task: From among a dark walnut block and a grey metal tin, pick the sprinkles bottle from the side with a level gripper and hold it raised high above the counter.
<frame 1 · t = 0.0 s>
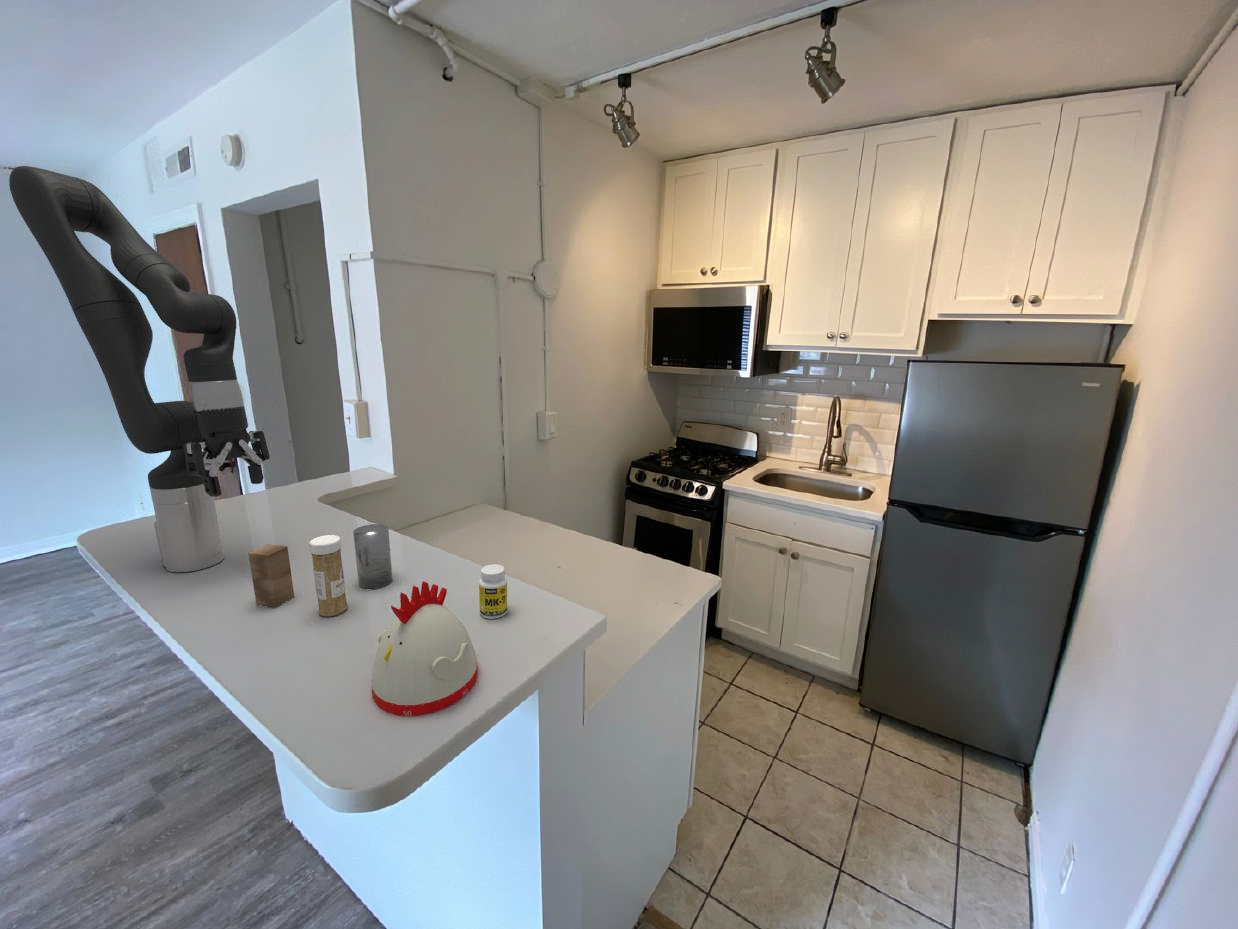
hand: (237, 489, 96), 17 cm above the table, tool pointing down, fingers open, 8 cm apart
walnut block: (275, 601, 89), on the table
supplement bottle: (493, 613, 88), on the table
grey metal tin: (375, 582, 97), on the table
sprinkles bottle: (333, 611, 87), on the table
kitchen timer: (426, 681, 70), on the table
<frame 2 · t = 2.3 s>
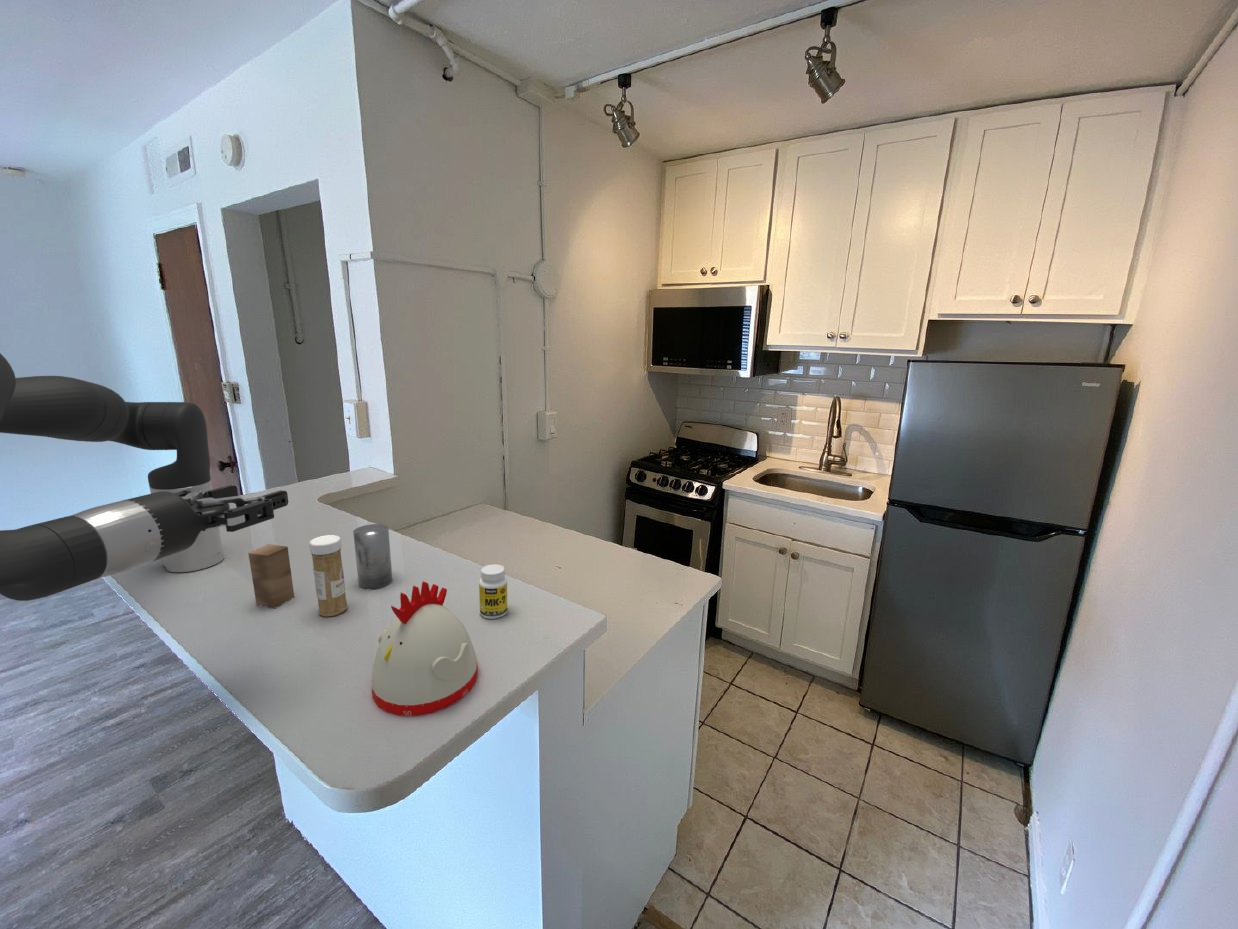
hand: (260, 494, 71), 25 cm above the table, tool horizontal, fingers open, 8 cm apart
nothing on the table moved.
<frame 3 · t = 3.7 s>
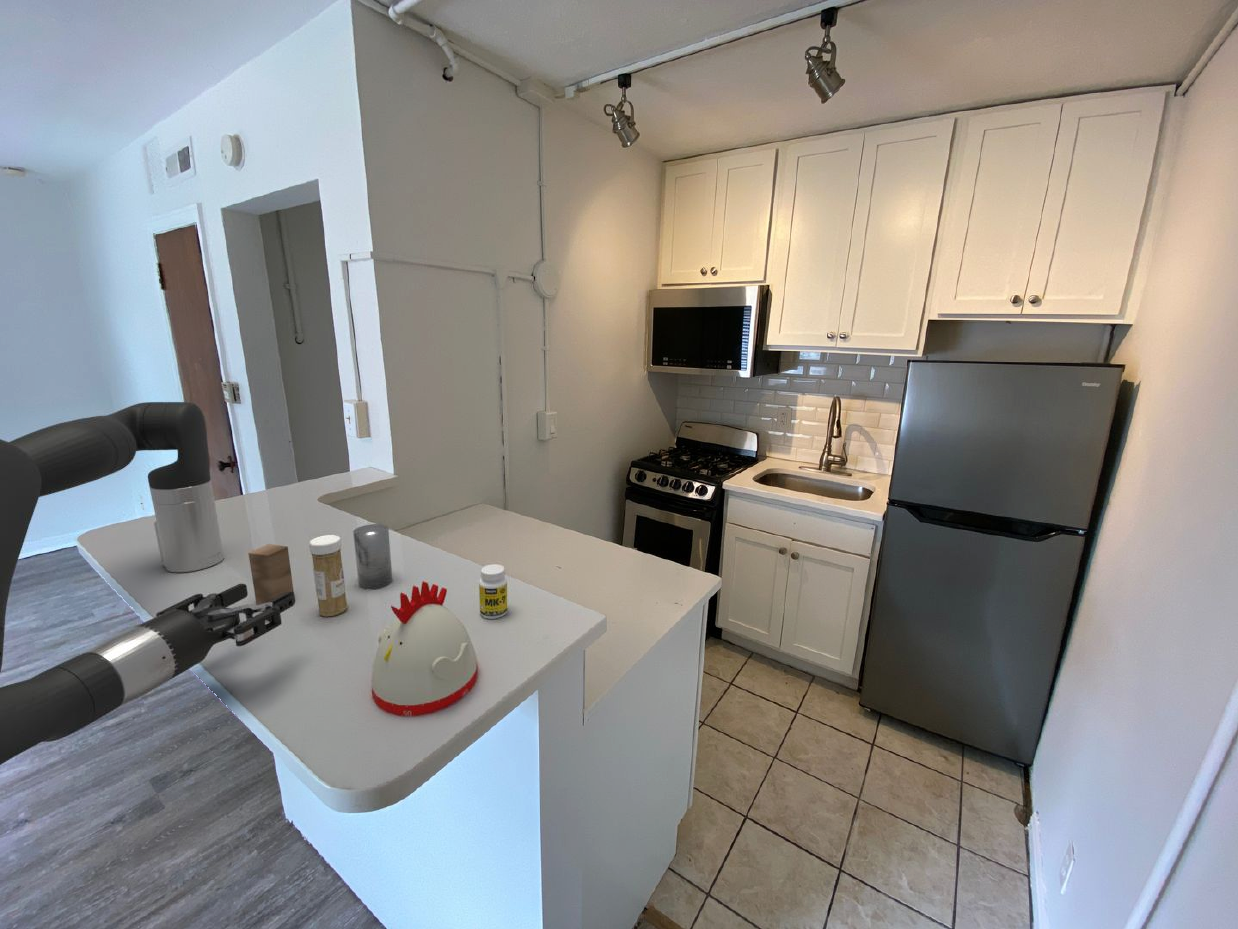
hand: (268, 593, 74), 9 cm above the table, tool horizontal, fingers open, 8 cm apart
nothing on the table moved.
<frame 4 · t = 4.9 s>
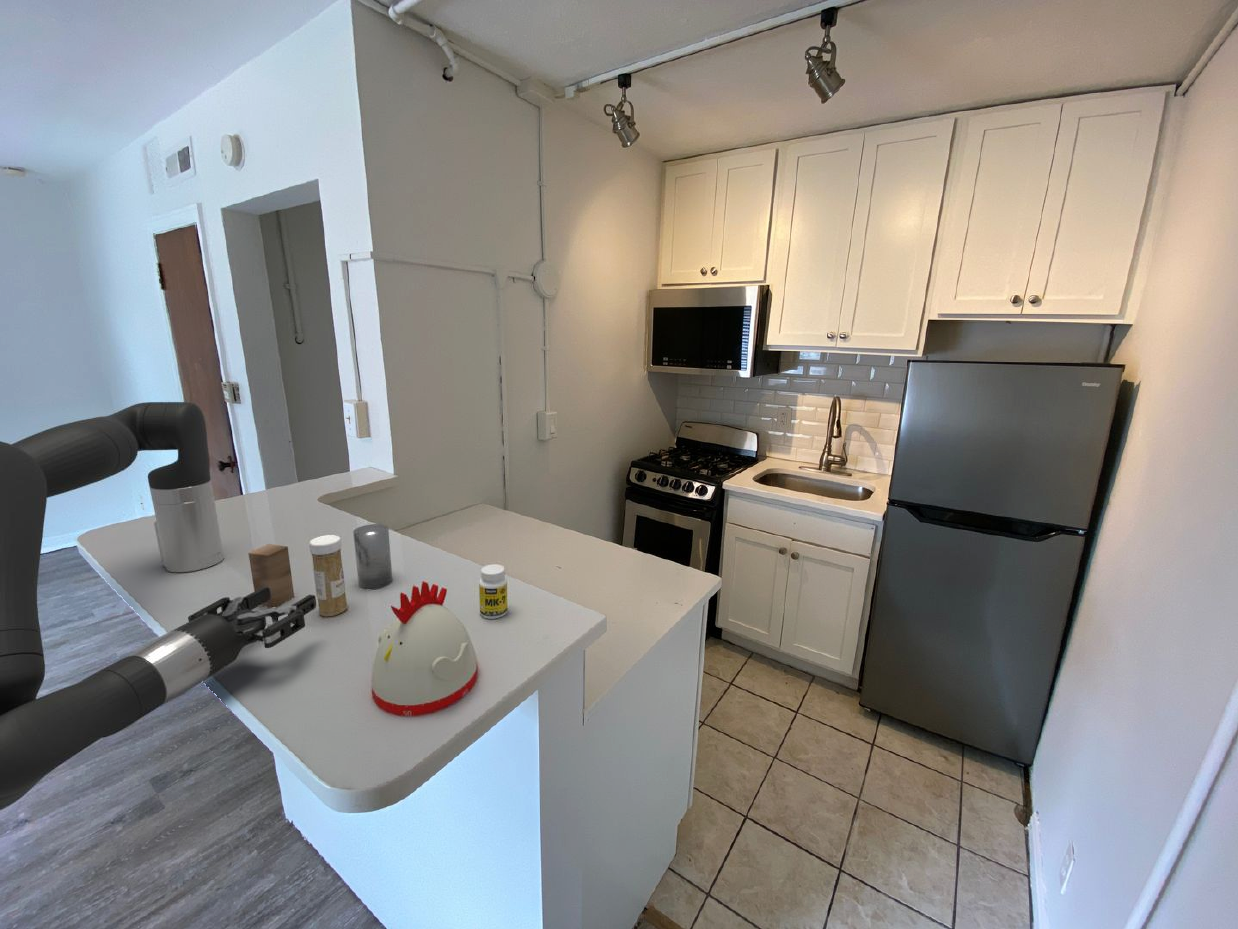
hand: (290, 596, 78), 7 cm above the table, tool horizontal, fingers open, 8 cm apart
nothing on the table moved.
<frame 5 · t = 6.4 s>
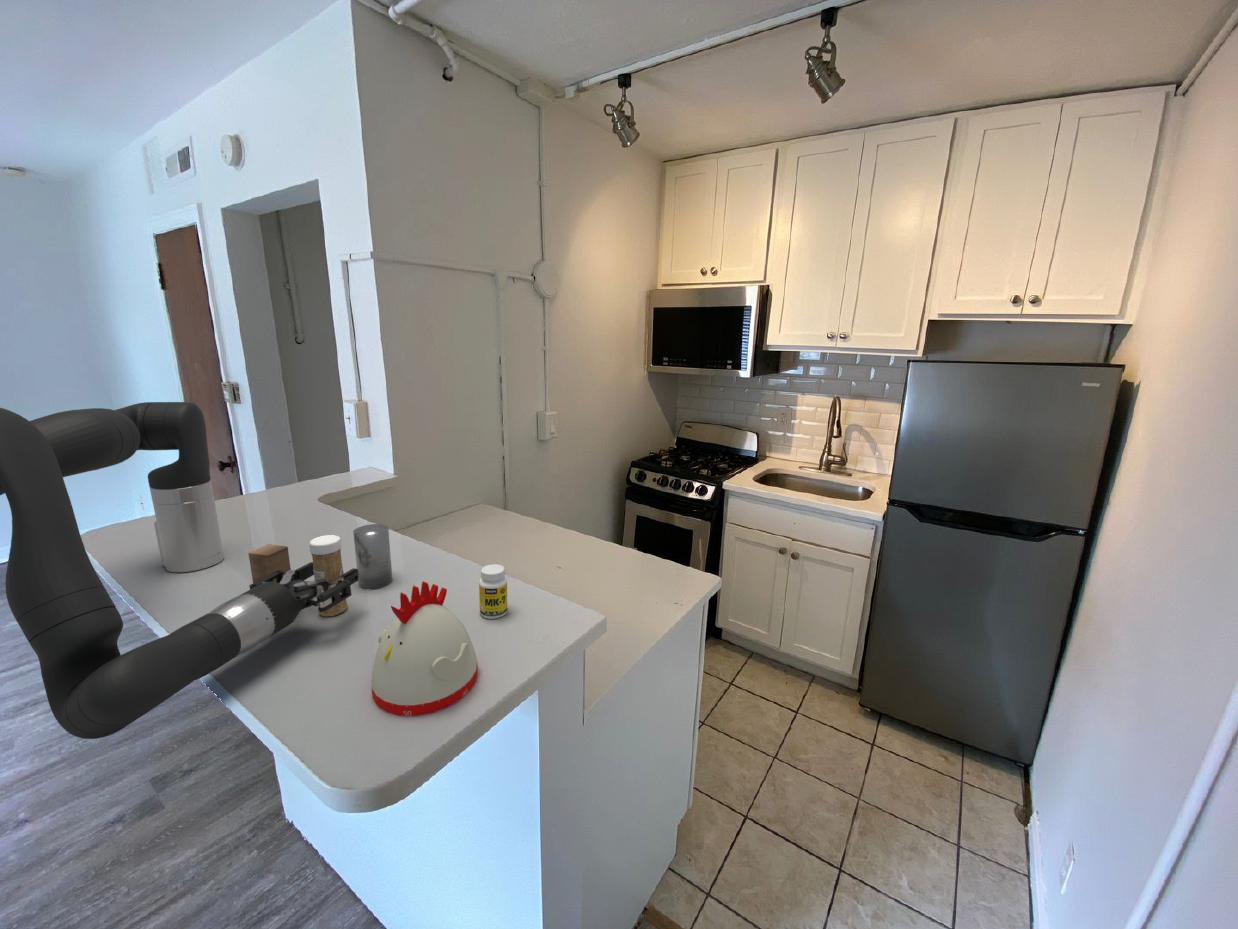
hand: (335, 570, 87), 7 cm above the table, tool horizontal, fingers open, 8 cm apart
nothing on the table moved.
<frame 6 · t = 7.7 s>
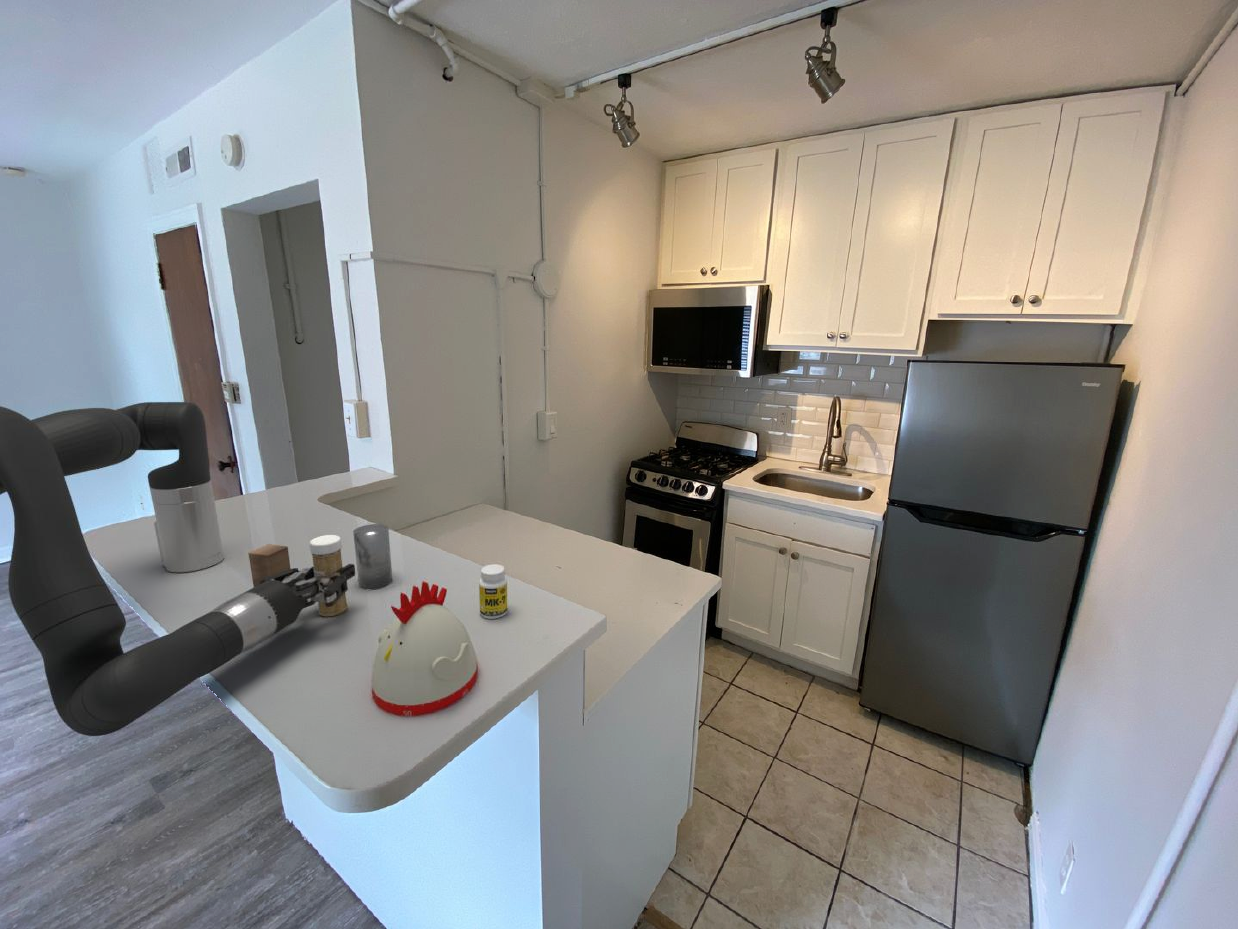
hand: (340, 567, 88), 7 cm above the table, tool horizontal, fingers closed on sprinkles bottle, 4 cm apart
sprinkles bottle: (333, 611, 87), on the table, touching gripper
everything else where it was.
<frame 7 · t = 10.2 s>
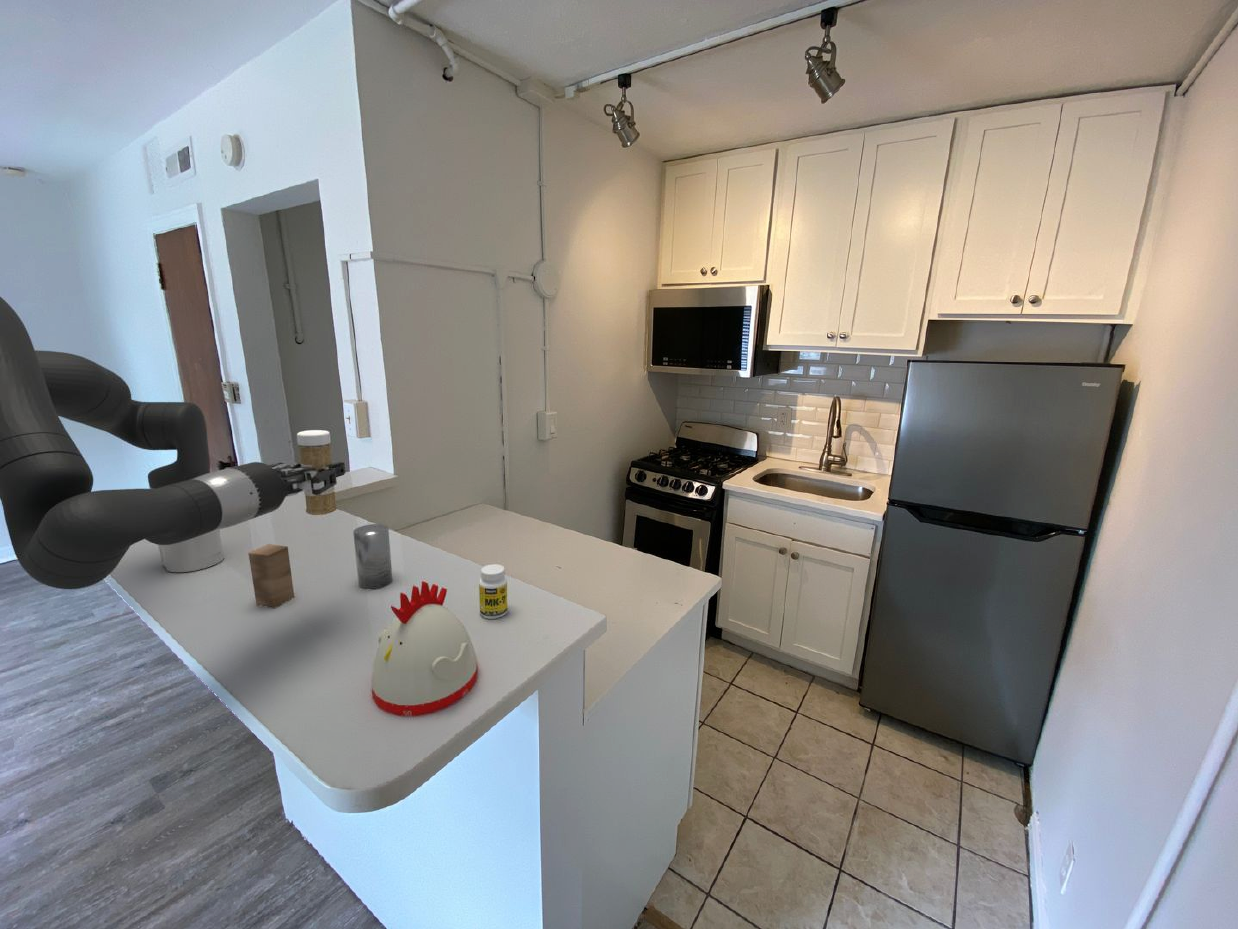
hand: (329, 466, 83), 25 cm above the table, tool horizontal, fingers closed on sprinkles bottle, 4 cm apart
sprinkles bottle: (321, 512, 83), point 18 cm above the table, touching gripper
everything else where it was.
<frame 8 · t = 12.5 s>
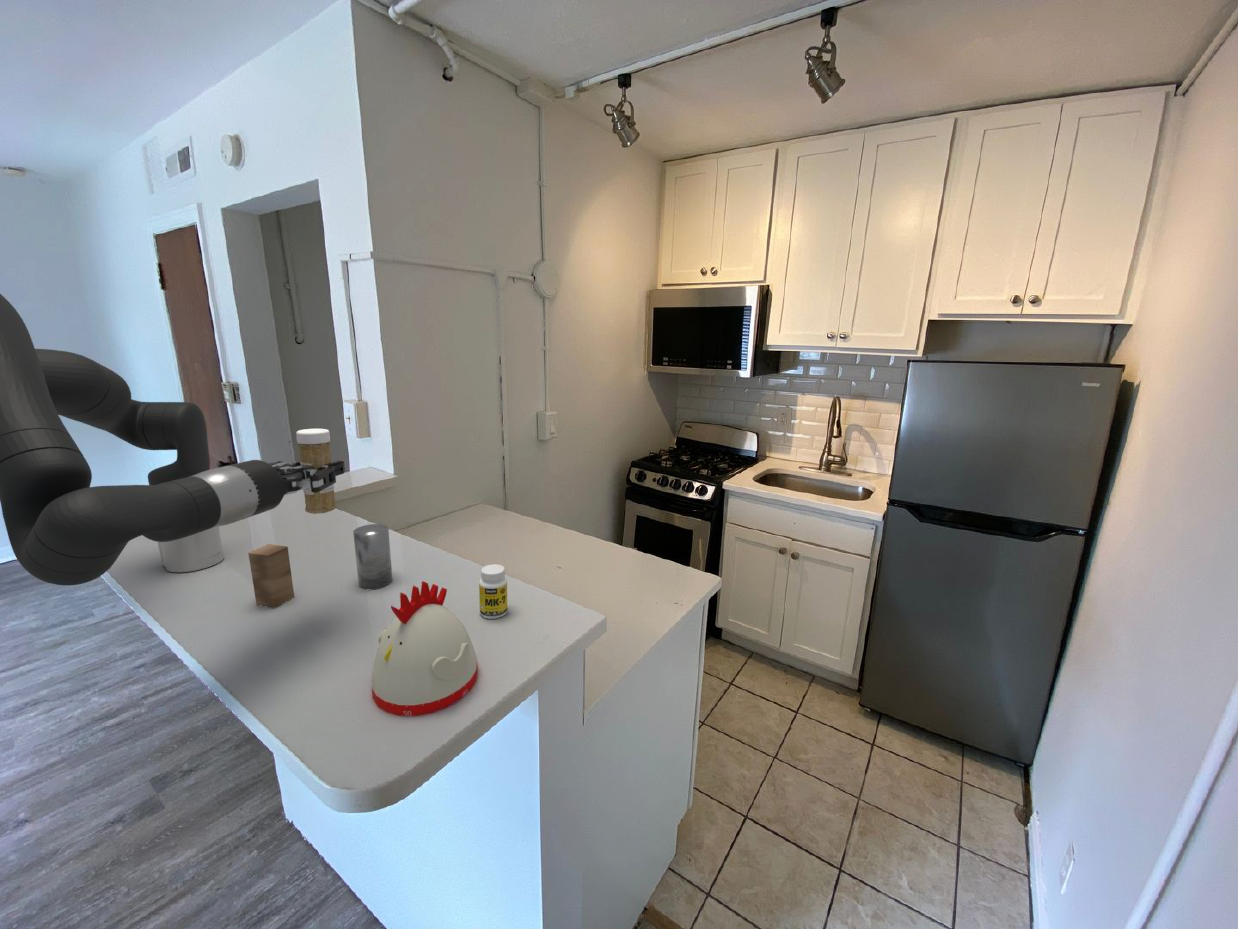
hand: (329, 465, 83), 26 cm above the table, tool horizontal, fingers closed on sprinkles bottle, 4 cm apart
sprinkles bottle: (321, 511, 82), point 18 cm above the table, touching gripper
everything else where it was.
at the end: the gripper is holding sprinkles bottle; sprinkles bottle point 18.4 cm above the table; grey metal tin moved 0.0 cm from its start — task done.
